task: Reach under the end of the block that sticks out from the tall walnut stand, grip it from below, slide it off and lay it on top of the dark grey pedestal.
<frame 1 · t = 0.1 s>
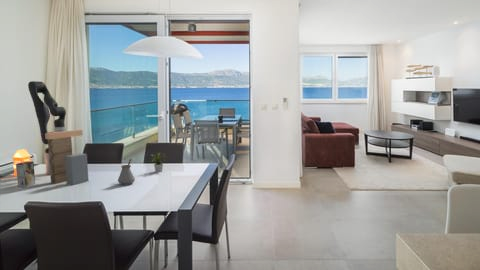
hand: (62, 153, 267), 17 cm above the table, tool pointing down, fingers open, 8 cm apart
stand: (62, 181, 251), on the table
coffee pot: (128, 182, 247), on the table
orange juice: (23, 174, 272), on the table
pedestal: (78, 182, 246), on the table
block: (64, 137, 250), point 32 cm above the table, touching stand
house plant: (158, 172, 278), on the table
coffee box: (26, 185, 240), on the table
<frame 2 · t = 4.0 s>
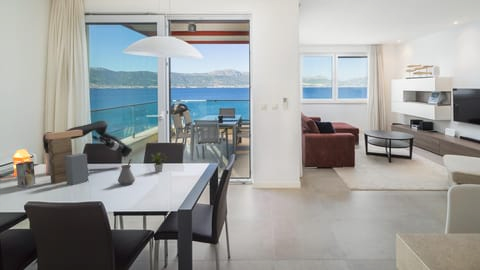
hand: (96, 136, 273), 29 cm above the table, tool pointing upward, fingers open, 8 cm apart
nothing on the table moved.
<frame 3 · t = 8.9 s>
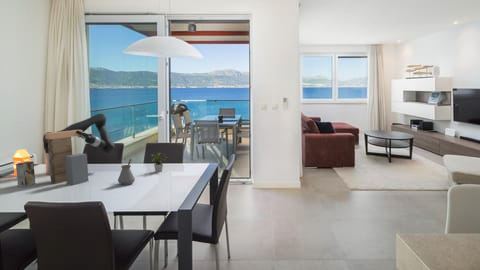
hand: (74, 131, 257), 35 cm above the table, tool pointing upward, fingers closed on block, 4 cm apart
block: (64, 137, 250), point 32 cm above the table, touching gripper, stand
everything else where it was.
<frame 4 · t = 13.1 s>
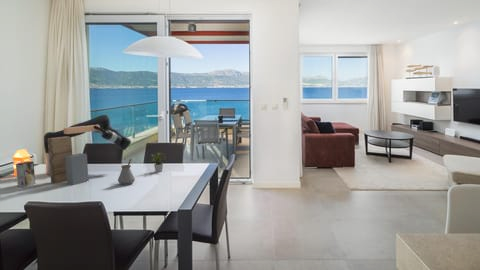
hand: (92, 126, 254), 39 cm above the table, tool pointing upward, fingers closed on block, 4 cm apart
block: (82, 132, 247), point 36 cm above the table, touching gripper
everything else where it was.
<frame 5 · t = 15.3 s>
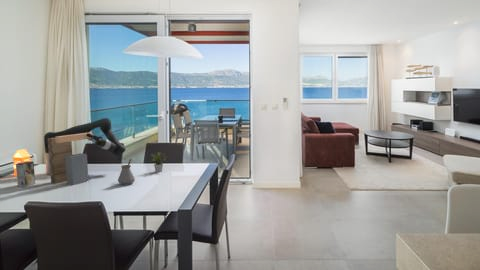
hand: (85, 134, 249), 34 cm above the table, tool pointing upward, fingers closed on block, 4 cm apart
block: (75, 140, 243), point 31 cm above the table, touching gripper
everything else where it was.
when the fingers open (26 cm above the table, at t = 17.5 s): block drops 2 cm, resting on pedestal.
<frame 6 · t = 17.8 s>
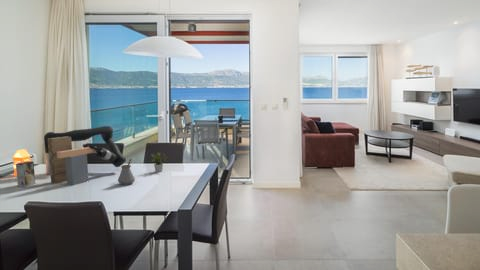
hand: (86, 145, 250), 26 cm above the table, tool pointing upward, fingers open, 6 cm apart
block: (76, 155, 244), point 20 cm above the table, touching pedestal
everything else where it was.
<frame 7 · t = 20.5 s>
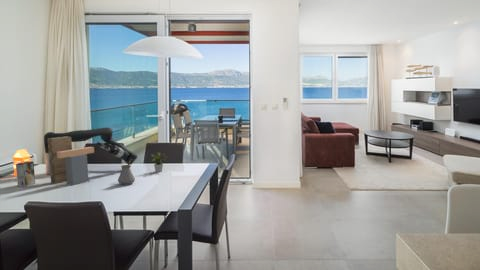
hand: (100, 143, 261), 26 cm above the table, tool pointing upward, fingers open, 8 cm apart
nothing on the table moved.
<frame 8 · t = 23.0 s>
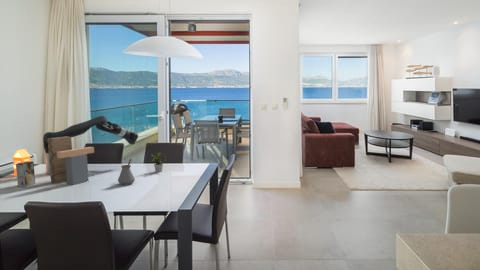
hand: (103, 122, 271), 41 cm above the table, tool pointing upward, fingers open, 8 cm apart
nothing on the table moved.
at the end: block inside the target area on the pedestal (0.2 cm from its centre), point 20.0 cm above the pedestal's base; block tilted 0°; the gripper is holding nothing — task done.
